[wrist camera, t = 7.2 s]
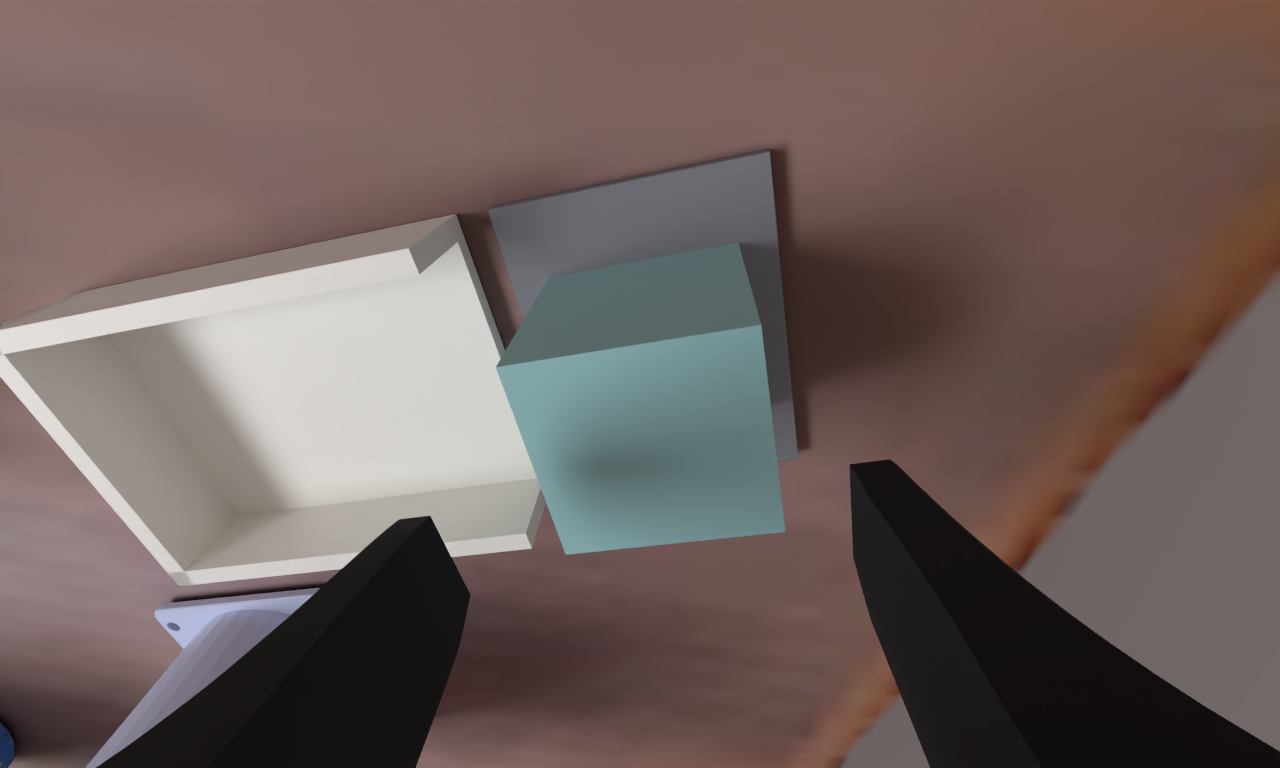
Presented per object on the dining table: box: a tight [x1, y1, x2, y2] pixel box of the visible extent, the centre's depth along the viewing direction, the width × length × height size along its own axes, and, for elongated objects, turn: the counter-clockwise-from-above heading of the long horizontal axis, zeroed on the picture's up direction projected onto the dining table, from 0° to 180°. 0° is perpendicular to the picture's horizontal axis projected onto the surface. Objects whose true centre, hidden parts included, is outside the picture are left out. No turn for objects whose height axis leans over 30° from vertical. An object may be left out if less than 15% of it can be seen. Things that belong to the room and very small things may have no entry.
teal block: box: [496, 243, 785, 555], centre depth 14 cm, size 5×5×5 cm
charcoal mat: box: [488, 149, 798, 462], centre depth 16 cm, size 9×7×1 cm
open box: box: [0, 214, 546, 586], centre depth 17 cm, size 9×12×3 cm
